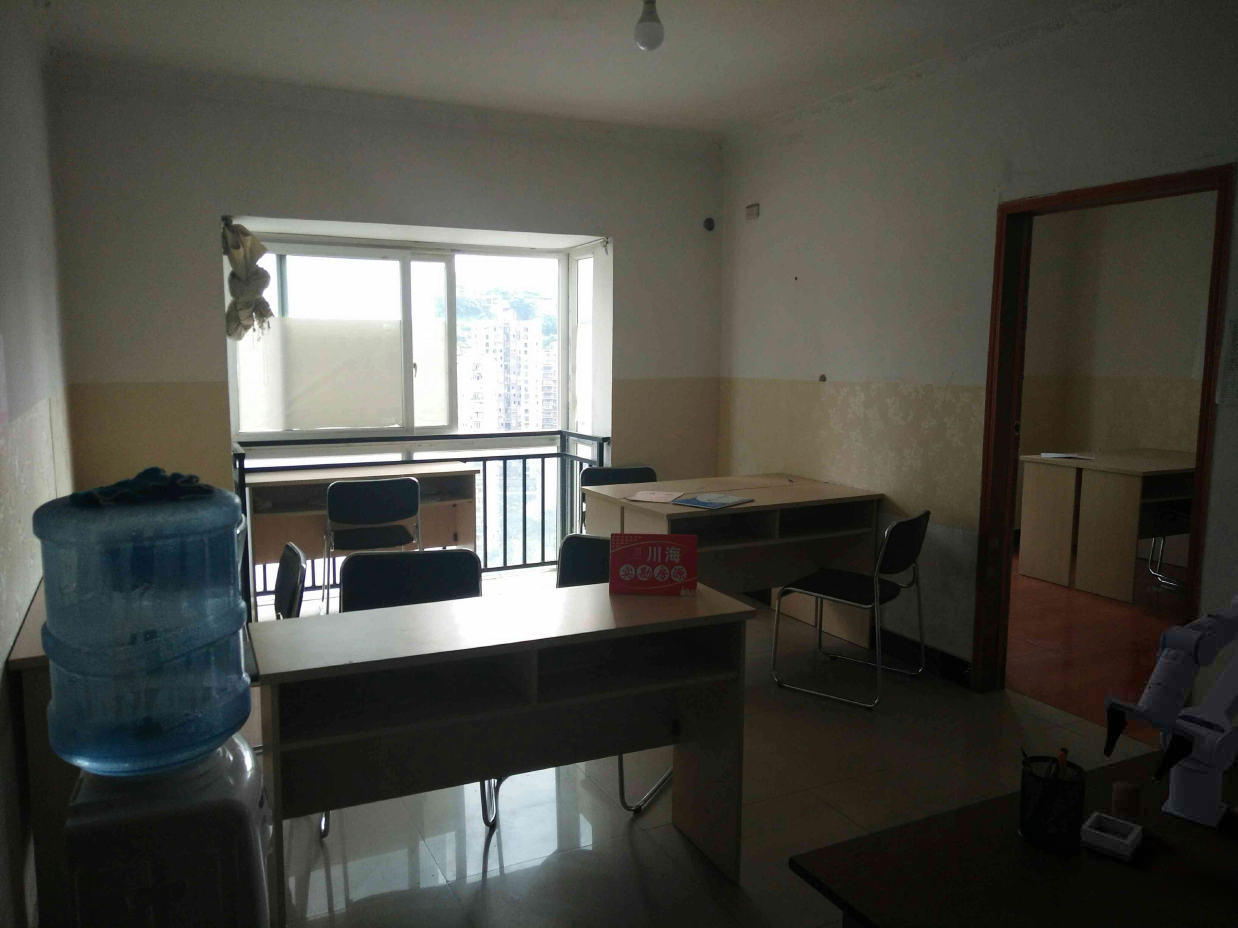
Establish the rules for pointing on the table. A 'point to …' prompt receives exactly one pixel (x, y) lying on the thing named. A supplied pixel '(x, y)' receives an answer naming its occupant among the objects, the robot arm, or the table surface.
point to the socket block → (1111, 836)
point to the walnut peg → (1126, 802)
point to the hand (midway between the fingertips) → (1131, 766)
